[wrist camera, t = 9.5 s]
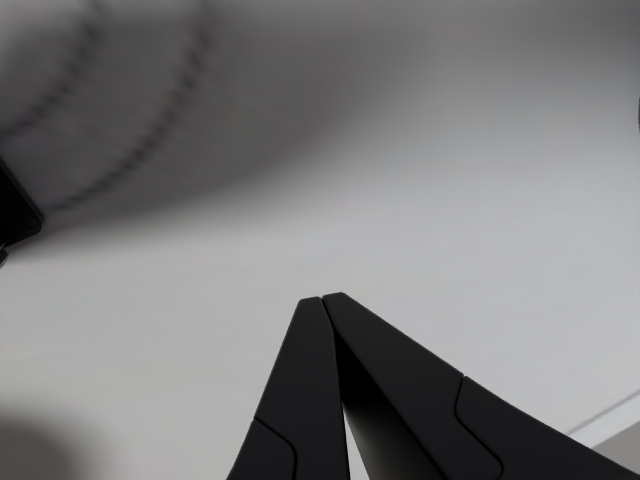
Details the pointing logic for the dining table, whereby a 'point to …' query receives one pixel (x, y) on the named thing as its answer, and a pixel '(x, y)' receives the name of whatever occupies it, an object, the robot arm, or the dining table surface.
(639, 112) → the steel pot
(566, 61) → the dining table surface
